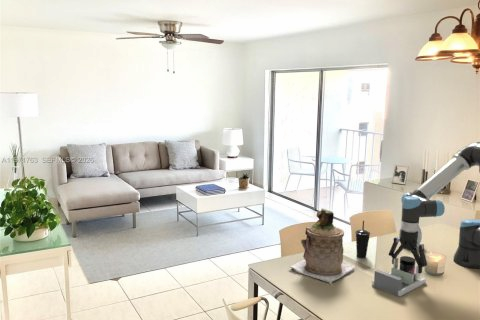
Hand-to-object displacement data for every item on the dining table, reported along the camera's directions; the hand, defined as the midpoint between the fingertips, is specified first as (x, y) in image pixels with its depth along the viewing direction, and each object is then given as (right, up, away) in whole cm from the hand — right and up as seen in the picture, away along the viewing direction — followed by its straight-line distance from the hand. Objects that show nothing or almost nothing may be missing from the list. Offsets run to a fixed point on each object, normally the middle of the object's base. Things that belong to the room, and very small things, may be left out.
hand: (406, 275), depth 192 cm
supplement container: (0, -3, +1) cm, 3 cm away
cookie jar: (-37, -1, +12) cm, 39 cm away
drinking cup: (-12, +2, +30) cm, 32 cm away
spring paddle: (-4, -3, -3) cm, 6 cm away
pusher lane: (-5, -3, -3) cm, 6 cm away
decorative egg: (+22, +4, +48) cm, 53 cm away
